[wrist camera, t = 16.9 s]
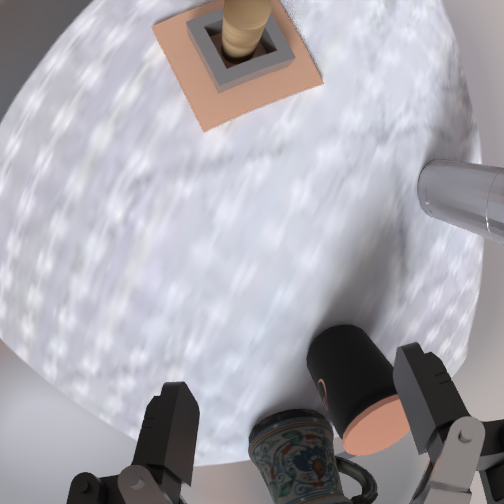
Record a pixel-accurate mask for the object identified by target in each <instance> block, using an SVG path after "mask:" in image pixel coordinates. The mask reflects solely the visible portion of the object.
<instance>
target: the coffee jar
mask: <svg viewBox="0 0 504 504" xmlns="http://www.w3.org/2000/svg"><path fill="white" fill-rule="evenodd" d="M307 367H308V369H309V372H310V374H311V376H312V378H313V380H314V383H315V385H316V387H317V389H318V391H319V394H320V396H321V398H322V400H323V402H324V405H325V407H326V409H327V411H328V414H329V416H330V418H331V420H332V422H333V425H334V427H335V429H336V431H337V433H338V435H339V436H340V438H341V439H342V440H343V446H344V448H345V450H346V451H347V453H350V454H352V455H368V454H372V453H375V452H378V451H380V450H383V449H385V448H387V447H389V446H390V445H392V444H394V443H396V442H397V441H398V440H400V439H401V438H402V437H403V436H405V435H406V434H407V433H408V432H409V431H410V430H411V429H410V426H409V423H408V420H407V418H406V415H405V412H404V409H403V406H402V404H401V401H400V398H399V396H398V393H397V390H396V388H395V385H394V380H393V370H394V367H393V366H392V365H391V364H390V362H389V361H388V360H387V359H386V357H385V356H384V355H383V354H382V353H381V351H380V350H379V349H378V348H377V346H376V345H375V344H374V343H373V341H372V340H371V339H370V338H369V337H368V335H367V334H366V333H365V332H364V331H363V330H362V329H361V328H358V327H356V326H353V325H339V326H335V327H331V328H329V329H327V330H326V331H324V332H322V333H321V334H320V335H319V336H318V337H317V338H316V339H315V340H314V342H313V343H312V345H311V347H310V348H309V352H308V355H307Z"/></svg>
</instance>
